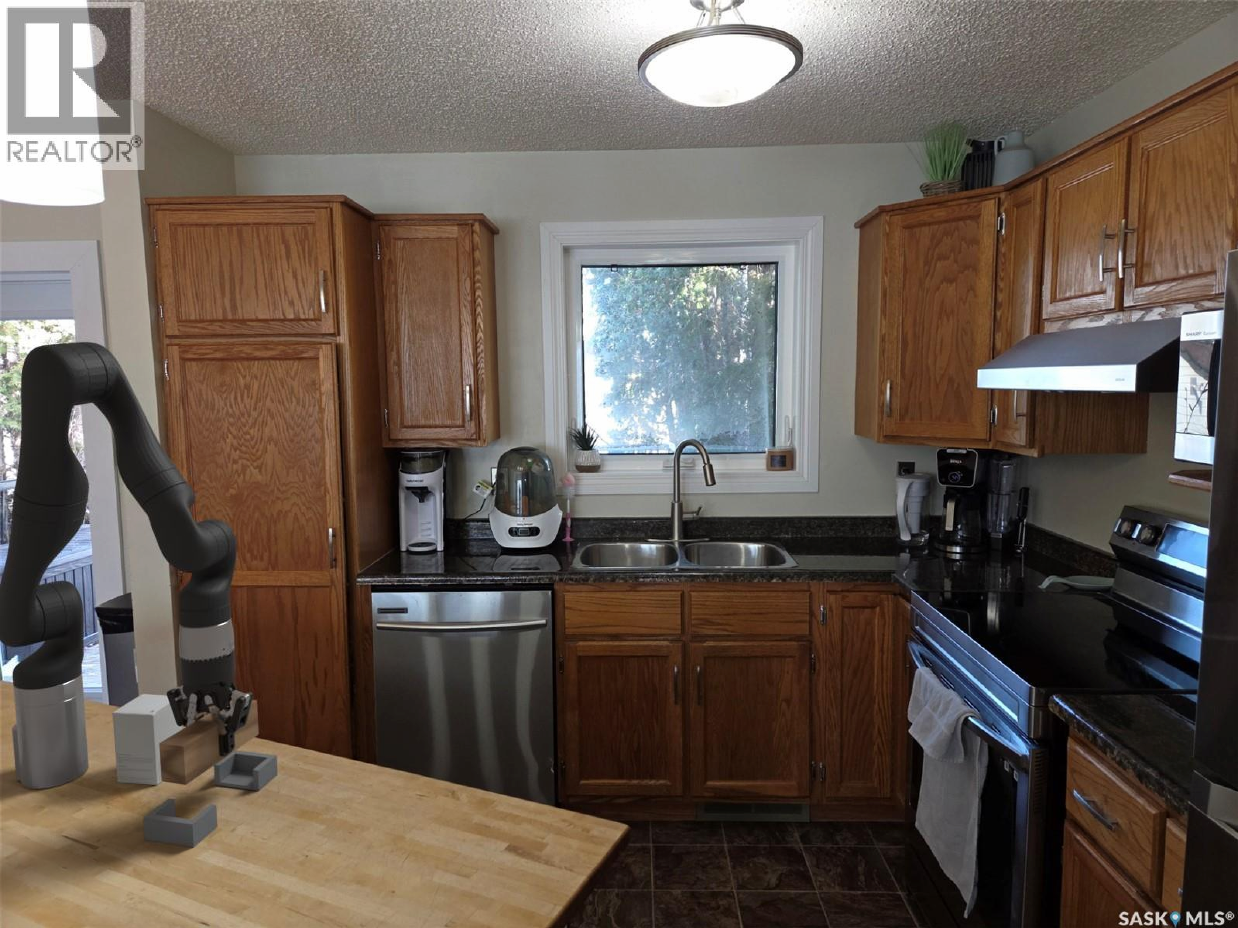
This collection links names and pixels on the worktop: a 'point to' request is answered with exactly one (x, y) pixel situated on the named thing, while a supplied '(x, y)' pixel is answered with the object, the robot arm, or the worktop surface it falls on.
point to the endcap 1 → (178, 825)
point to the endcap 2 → (246, 770)
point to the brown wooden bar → (200, 747)
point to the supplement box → (142, 738)
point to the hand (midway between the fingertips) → (213, 751)
